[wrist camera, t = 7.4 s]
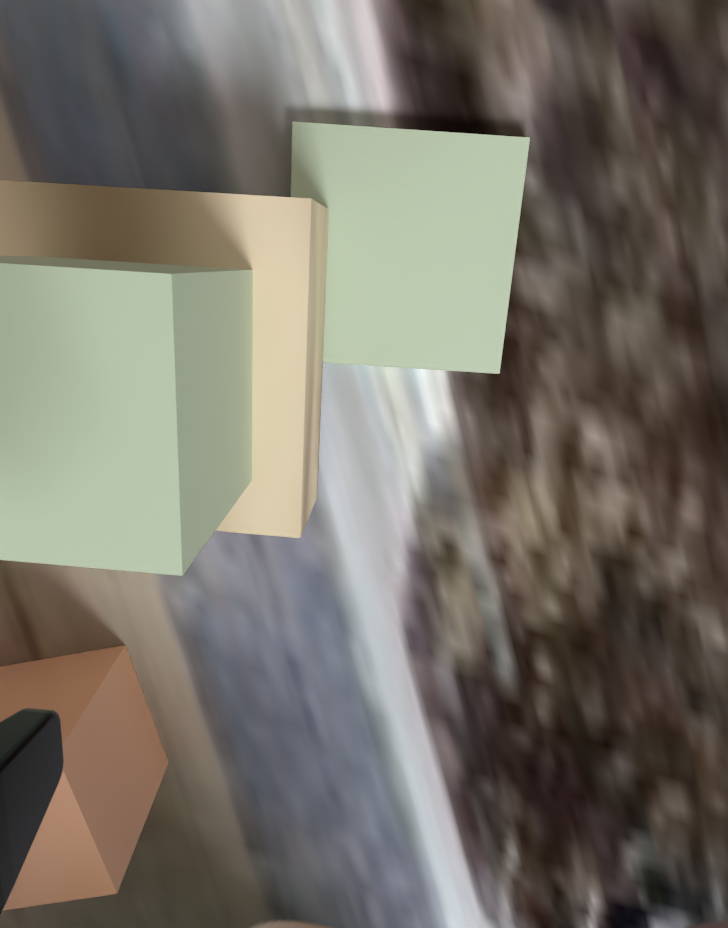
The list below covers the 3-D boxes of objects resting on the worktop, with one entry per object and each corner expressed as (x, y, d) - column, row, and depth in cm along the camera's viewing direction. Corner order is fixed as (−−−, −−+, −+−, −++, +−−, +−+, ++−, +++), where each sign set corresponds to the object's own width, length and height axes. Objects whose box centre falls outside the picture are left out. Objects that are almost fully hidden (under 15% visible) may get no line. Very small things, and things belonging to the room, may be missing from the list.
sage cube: (252, 269, 14) (172, 274, 9) (251, 480, 16) (182, 575, 11) (35, 256, 14) (-151, 254, 10) (56, 464, 16) (-95, 551, 11)
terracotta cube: (126, 643, 21) (56, 755, 16) (169, 760, 23) (116, 893, 18) (-14, 667, 22) (-122, 783, 17) (38, 781, 23) (-48, 917, 18)
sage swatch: (526, 140, 16) (530, 137, 16) (497, 371, 18) (499, 373, 18) (294, 124, 16) (292, 121, 16) (288, 358, 18) (286, 360, 18)
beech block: (329, 209, 16) (311, 198, 14) (317, 496, 19) (300, 537, 16) (30, 191, 17) (-48, 176, 14) (58, 474, 19) (-4, 511, 16)
